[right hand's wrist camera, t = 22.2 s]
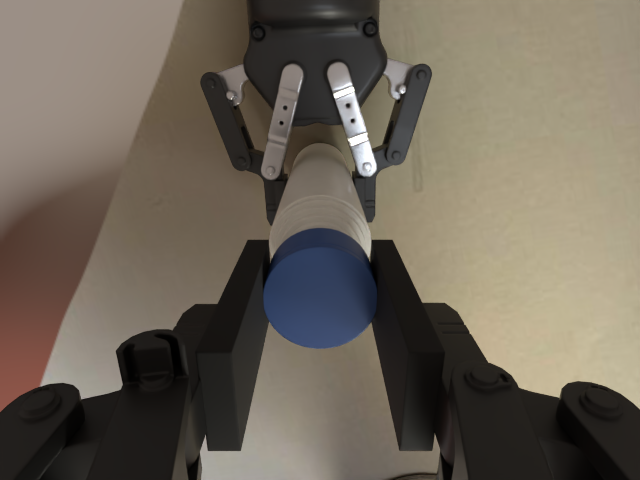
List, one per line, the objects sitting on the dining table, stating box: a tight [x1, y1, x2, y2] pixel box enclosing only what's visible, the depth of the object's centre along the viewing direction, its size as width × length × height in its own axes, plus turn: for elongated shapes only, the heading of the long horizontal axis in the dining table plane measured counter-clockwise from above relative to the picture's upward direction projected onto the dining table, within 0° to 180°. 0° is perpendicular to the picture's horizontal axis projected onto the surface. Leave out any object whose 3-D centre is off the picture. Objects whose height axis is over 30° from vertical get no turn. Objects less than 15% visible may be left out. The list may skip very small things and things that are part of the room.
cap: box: [263, 228, 377, 349], centre depth 14 cm, size 4×4×2 cm
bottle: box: [269, 143, 371, 258], centre depth 23 cm, size 4×4×21 cm
